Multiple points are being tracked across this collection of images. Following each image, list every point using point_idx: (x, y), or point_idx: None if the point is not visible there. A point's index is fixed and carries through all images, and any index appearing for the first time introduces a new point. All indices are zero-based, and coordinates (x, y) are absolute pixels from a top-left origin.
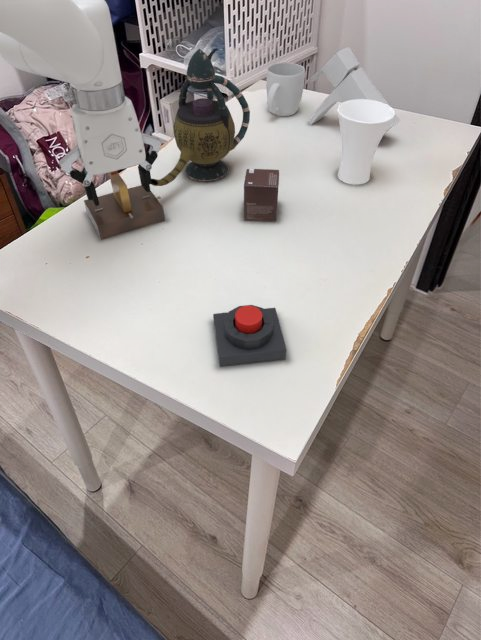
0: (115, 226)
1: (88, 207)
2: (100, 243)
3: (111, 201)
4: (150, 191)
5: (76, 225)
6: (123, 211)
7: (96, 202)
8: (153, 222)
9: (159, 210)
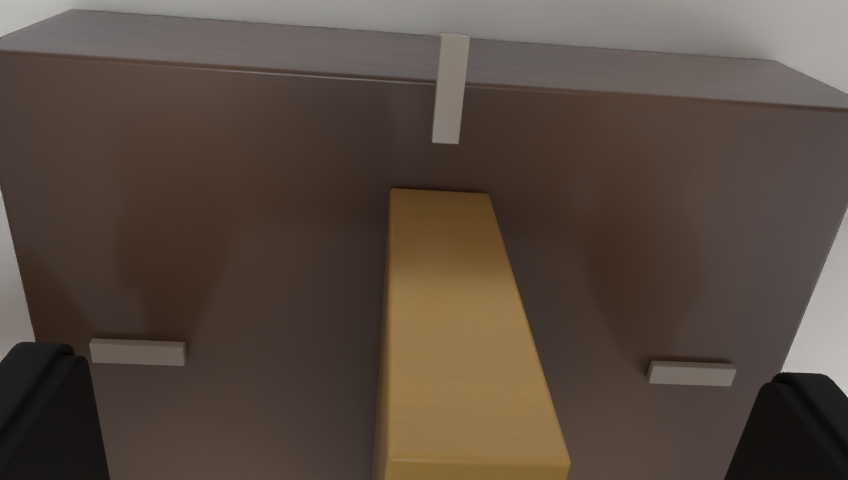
0: (649, 76)
1: None
2: (813, 15)
3: None
4: None
5: (801, 362)
6: None
7: (834, 402)
8: (201, 24)
9: (46, 43)
